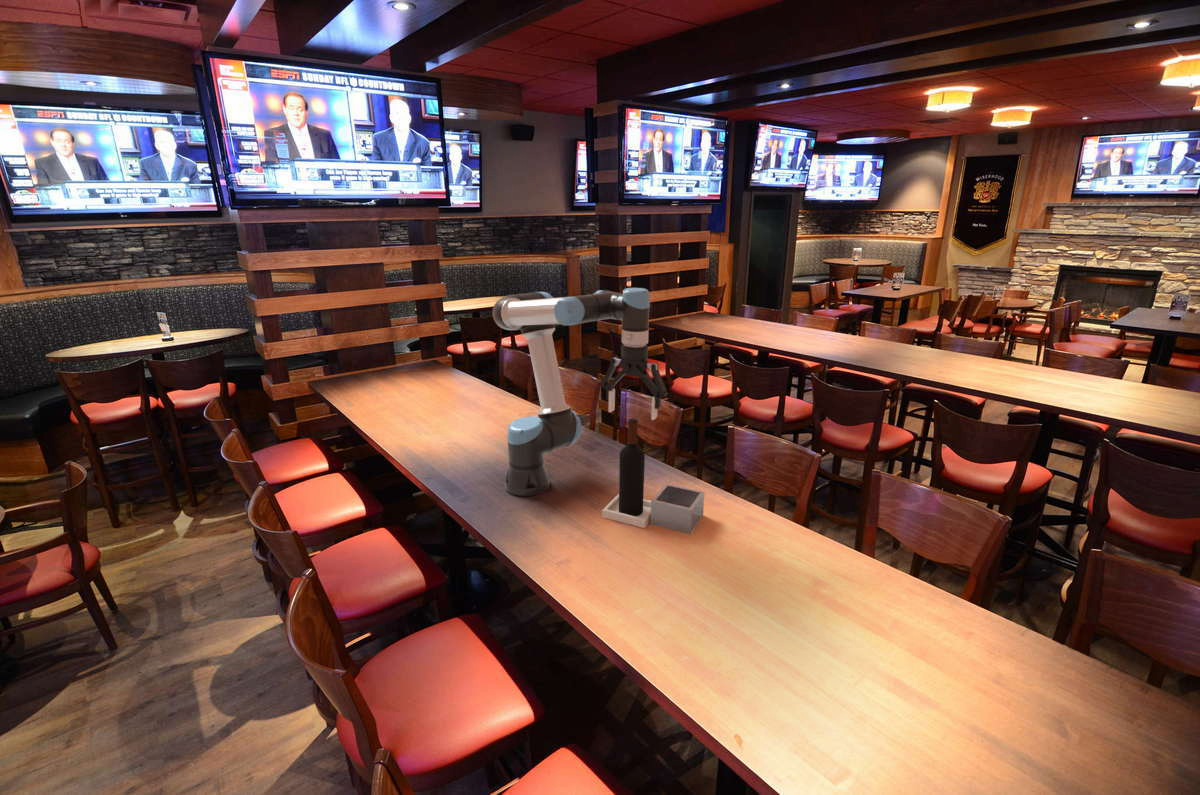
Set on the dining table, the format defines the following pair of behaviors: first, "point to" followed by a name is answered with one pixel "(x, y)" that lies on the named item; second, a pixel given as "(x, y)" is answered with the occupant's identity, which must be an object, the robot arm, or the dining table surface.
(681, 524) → the holder
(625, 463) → the wine bottle
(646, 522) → the tray
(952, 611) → the dining table surface
